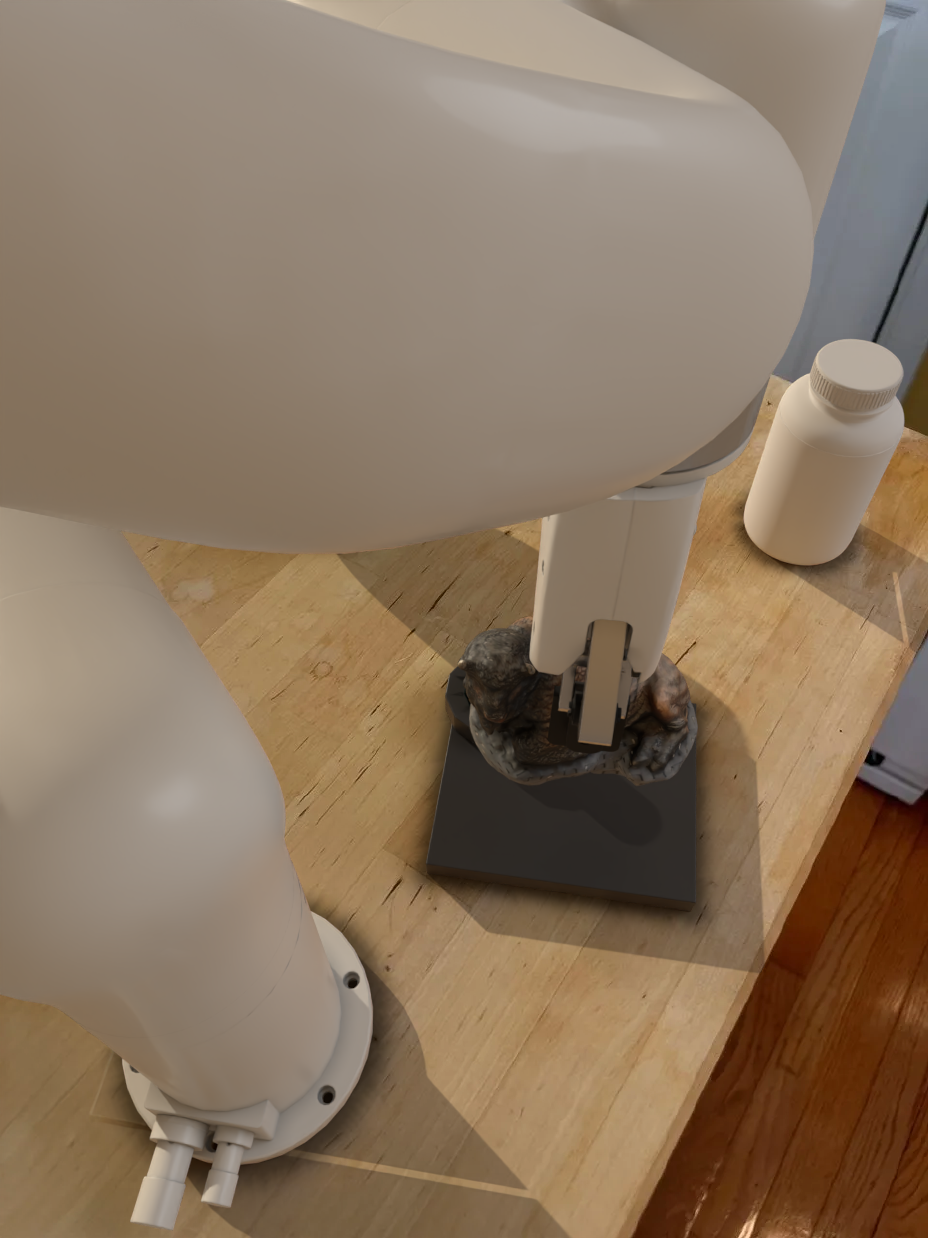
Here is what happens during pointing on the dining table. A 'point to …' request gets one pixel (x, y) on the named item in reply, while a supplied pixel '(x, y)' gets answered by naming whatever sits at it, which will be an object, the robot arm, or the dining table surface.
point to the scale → (563, 826)
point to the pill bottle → (826, 453)
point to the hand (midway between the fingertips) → (587, 682)
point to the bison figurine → (521, 707)
